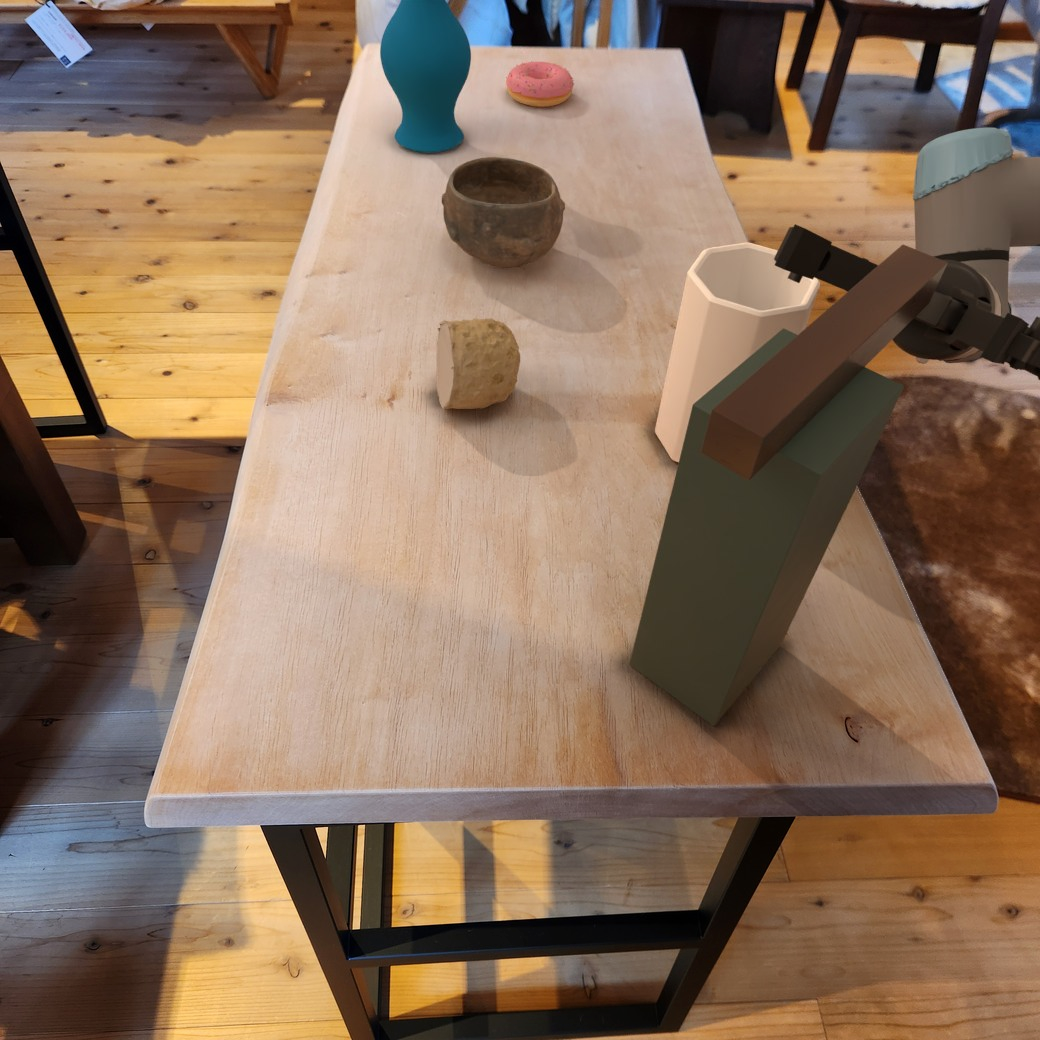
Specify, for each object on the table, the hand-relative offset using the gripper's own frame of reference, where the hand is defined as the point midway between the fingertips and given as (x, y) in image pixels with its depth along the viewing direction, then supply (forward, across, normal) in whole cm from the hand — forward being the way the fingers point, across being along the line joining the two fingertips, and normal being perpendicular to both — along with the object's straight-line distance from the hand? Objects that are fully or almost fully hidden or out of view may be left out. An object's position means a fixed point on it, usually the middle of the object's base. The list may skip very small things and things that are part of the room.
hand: (888, 289), depth 51 cm
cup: (-26, +14, -19) cm, 35 cm away
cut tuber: (-15, +35, -25) cm, 46 cm away
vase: (-48, +81, -6) cm, 94 cm away
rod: (+4, 0, -5) cm, 7 cm away
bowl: (-34, +52, -14) cm, 64 cm away
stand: (-7, 0, -30) cm, 31 cm away
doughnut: (-69, +80, +6) cm, 106 cm away
